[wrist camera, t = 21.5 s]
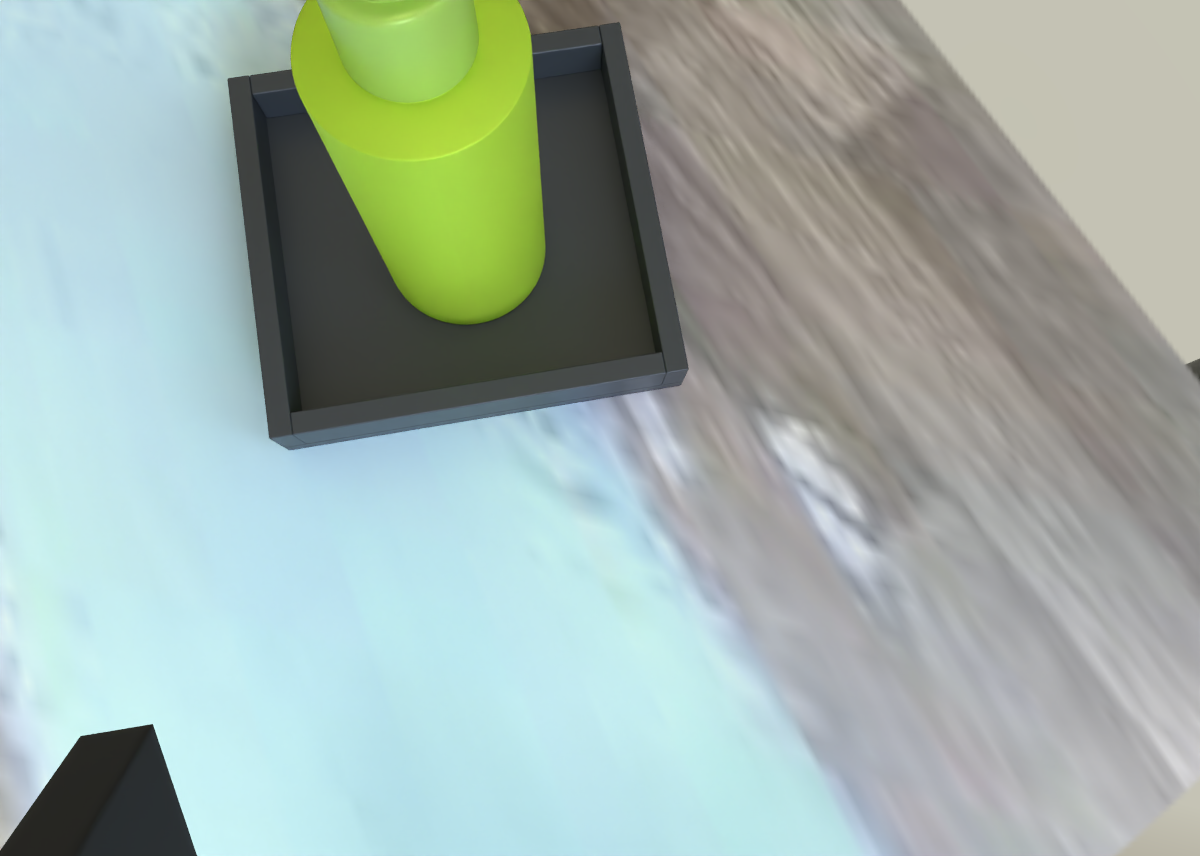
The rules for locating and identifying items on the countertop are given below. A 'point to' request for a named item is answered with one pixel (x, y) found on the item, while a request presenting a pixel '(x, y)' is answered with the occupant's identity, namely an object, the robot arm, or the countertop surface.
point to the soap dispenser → (433, 142)
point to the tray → (429, 346)
